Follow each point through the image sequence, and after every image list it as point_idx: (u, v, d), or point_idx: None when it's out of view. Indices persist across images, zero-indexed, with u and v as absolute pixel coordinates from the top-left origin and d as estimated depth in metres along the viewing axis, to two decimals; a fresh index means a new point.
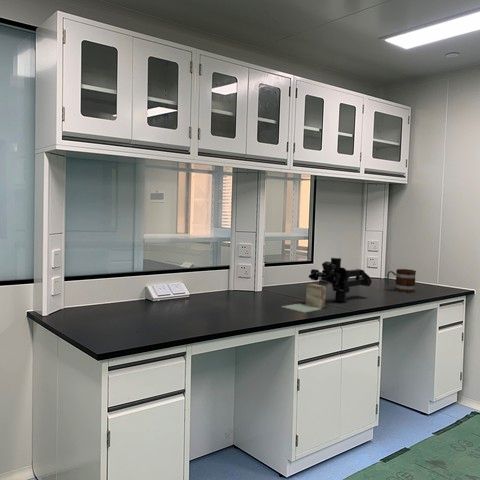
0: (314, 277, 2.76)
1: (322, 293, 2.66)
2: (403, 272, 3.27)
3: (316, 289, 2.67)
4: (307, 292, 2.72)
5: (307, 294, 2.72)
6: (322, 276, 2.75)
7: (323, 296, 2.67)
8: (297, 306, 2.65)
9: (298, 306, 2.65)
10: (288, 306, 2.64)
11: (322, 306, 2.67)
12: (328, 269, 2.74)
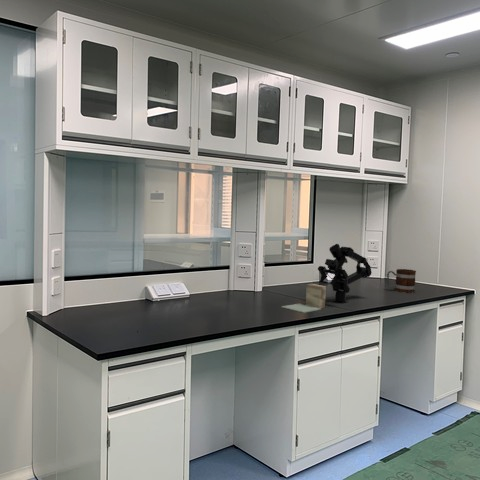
0: (325, 276, 2.81)
1: (322, 293, 2.66)
2: (403, 272, 3.27)
3: (316, 289, 2.67)
4: (307, 292, 2.72)
5: (307, 294, 2.72)
6: None
7: (323, 296, 2.67)
8: (297, 306, 2.65)
9: (298, 306, 2.65)
10: (288, 306, 2.64)
11: (322, 306, 2.67)
12: (333, 266, 2.76)
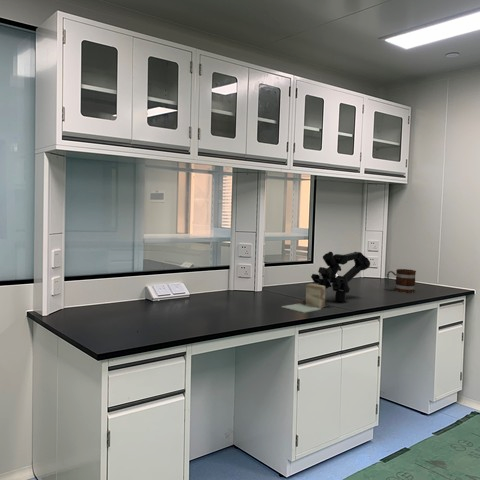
0: None
1: (322, 293, 2.66)
2: (403, 272, 3.27)
3: (315, 289, 2.67)
4: (307, 292, 2.71)
5: (307, 294, 2.71)
6: None
7: (323, 296, 2.67)
8: (297, 306, 2.65)
9: (298, 306, 2.65)
10: (288, 306, 2.64)
11: (322, 306, 2.67)
12: (326, 274, 2.73)
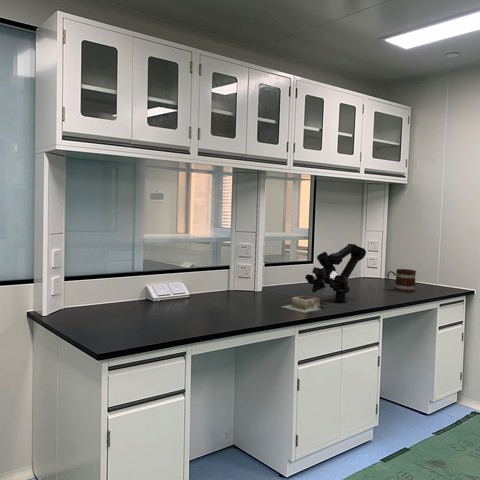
0: None
1: (310, 304, 2.60)
2: (403, 272, 3.27)
3: None
4: None
5: None
6: (318, 281, 2.72)
7: (312, 302, 2.61)
8: None
9: None
10: (288, 306, 2.64)
11: (318, 302, 2.65)
12: (320, 274, 2.69)
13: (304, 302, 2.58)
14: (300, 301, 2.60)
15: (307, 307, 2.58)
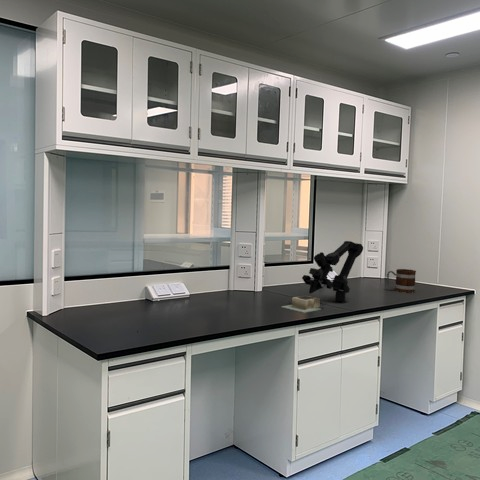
0: None
1: (310, 304, 2.60)
2: (403, 272, 3.27)
3: None
4: None
5: None
6: (315, 282, 2.71)
7: (312, 302, 2.61)
8: None
9: None
10: (288, 306, 2.64)
11: (318, 302, 2.65)
12: (317, 275, 2.67)
13: (304, 302, 2.58)
14: (300, 301, 2.60)
15: (307, 307, 2.58)
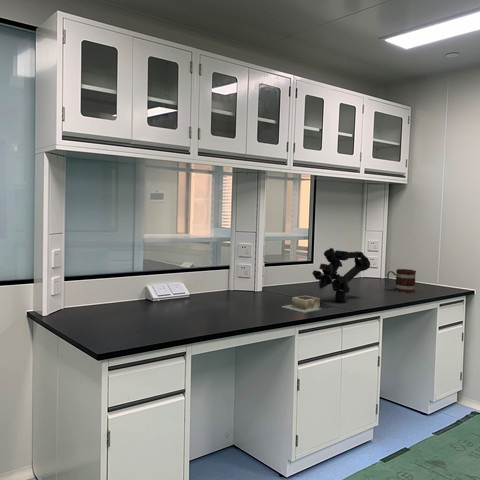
0: None
1: (310, 304, 2.60)
2: (403, 272, 3.27)
3: None
4: None
5: None
6: None
7: (312, 302, 2.61)
8: None
9: None
10: (288, 306, 2.64)
11: (318, 302, 2.65)
12: (327, 270, 2.73)
13: (304, 302, 2.58)
14: (300, 301, 2.60)
15: (307, 307, 2.58)
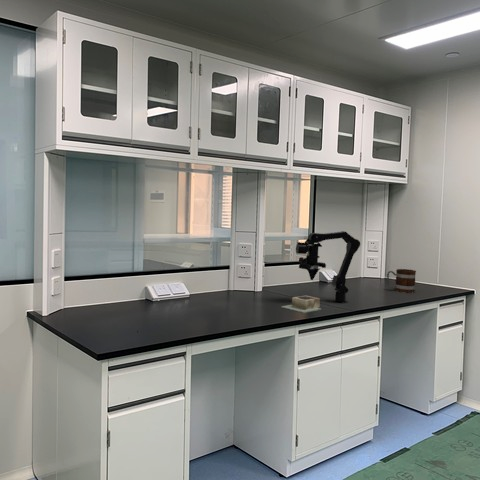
0: None
1: (310, 304, 2.60)
2: (403, 272, 3.27)
3: None
4: None
5: None
6: (313, 267, 2.82)
7: (312, 302, 2.61)
8: None
9: None
10: (288, 306, 2.64)
11: (318, 302, 2.65)
12: None
13: (304, 302, 2.58)
14: (300, 301, 2.60)
15: (307, 307, 2.58)
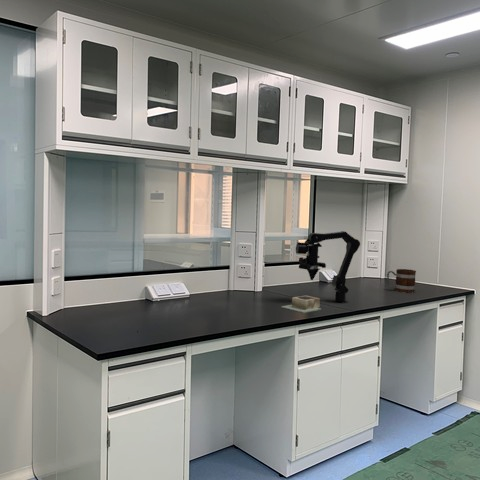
0: None
1: (310, 304, 2.60)
2: (403, 272, 3.27)
3: None
4: None
5: None
6: (313, 267, 2.83)
7: (312, 302, 2.61)
8: None
9: None
10: (288, 306, 2.64)
11: (318, 302, 2.65)
12: (305, 263, 2.84)
13: (304, 302, 2.58)
14: (300, 301, 2.60)
15: (307, 307, 2.58)
